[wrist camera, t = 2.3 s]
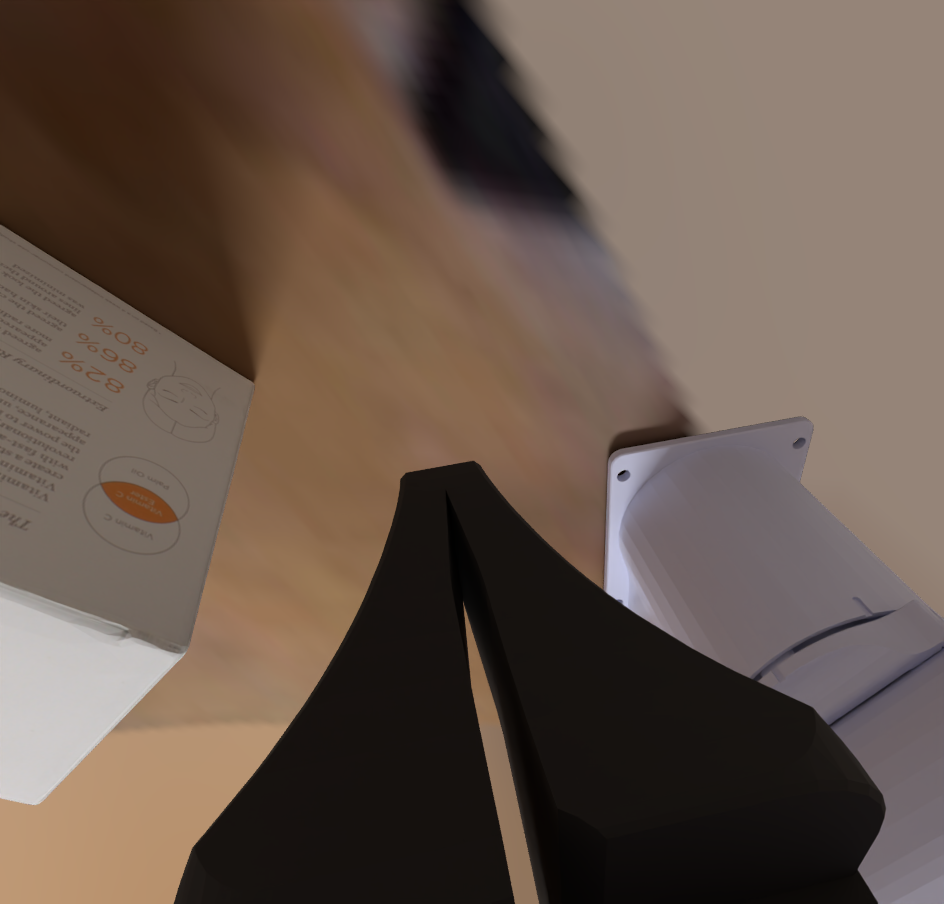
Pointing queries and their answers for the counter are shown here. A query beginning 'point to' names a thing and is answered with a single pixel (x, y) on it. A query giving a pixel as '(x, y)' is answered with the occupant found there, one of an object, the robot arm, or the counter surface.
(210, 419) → the small box
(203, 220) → the counter surface
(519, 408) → the counter surface
